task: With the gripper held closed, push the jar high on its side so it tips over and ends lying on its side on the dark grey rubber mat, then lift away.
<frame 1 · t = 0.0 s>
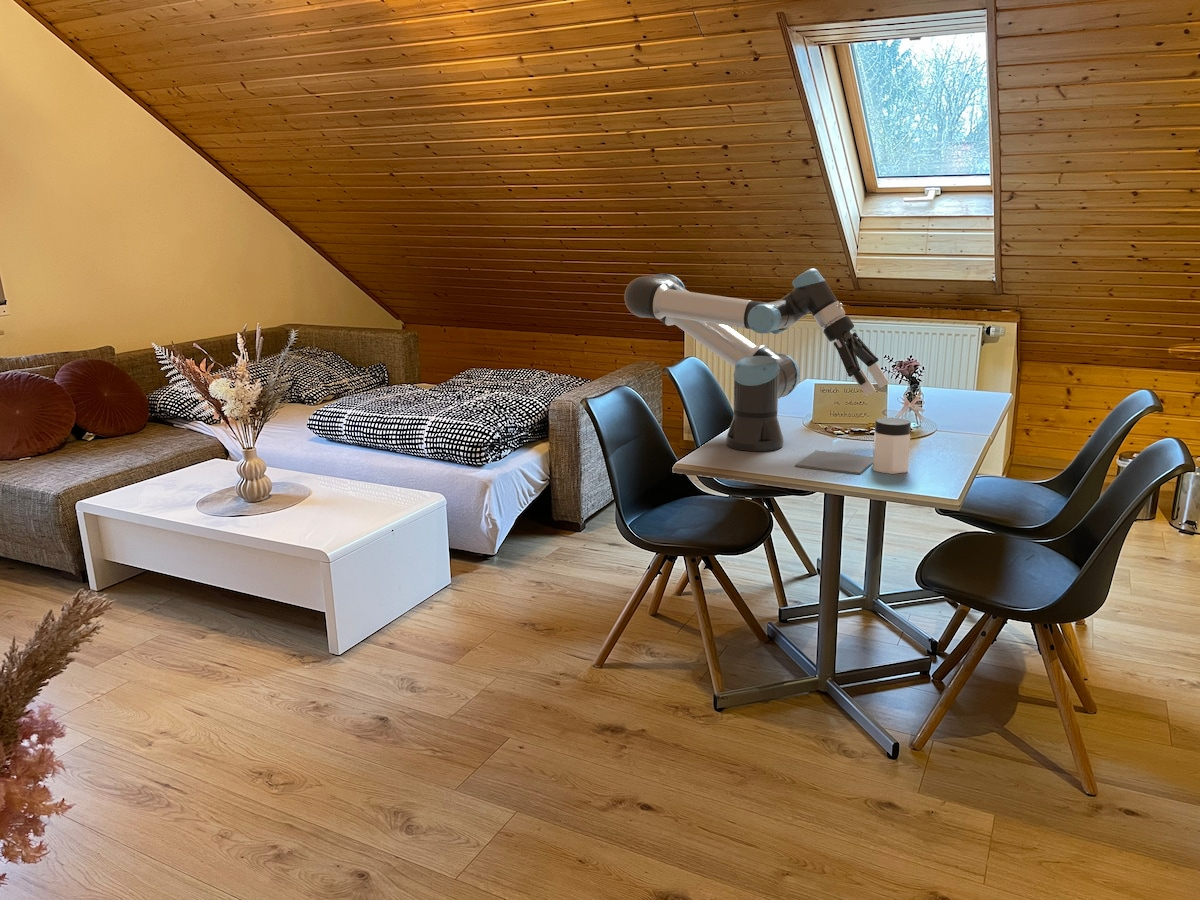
hand: (878, 389, 236), 15 cm above the table, tool tilted 35°, fingers open, 13 cm apart
jar: (889, 470, 218), on the table
mat: (836, 462, 224), on the table
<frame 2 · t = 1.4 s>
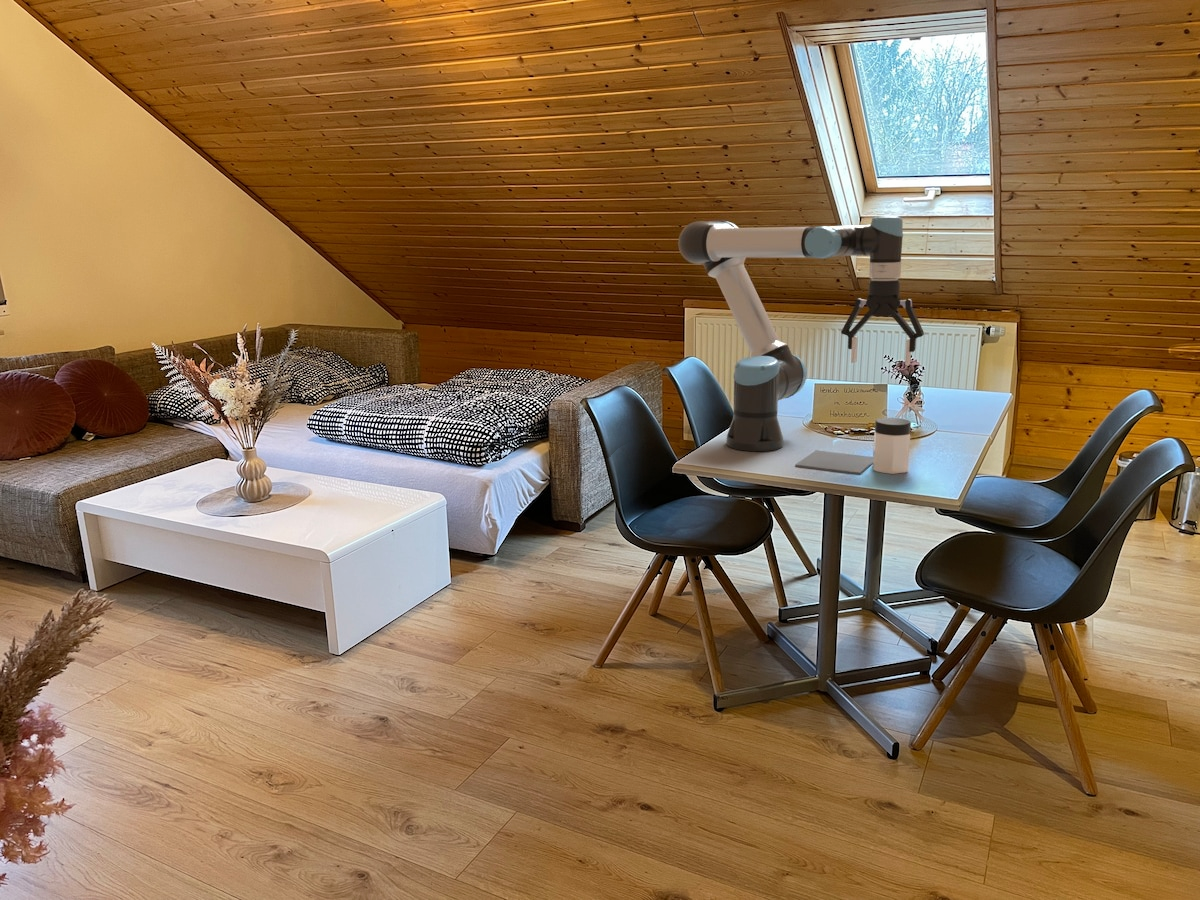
hand: (880, 363, 231), 23 cm above the table, tool pointing down, fingers open, 13 cm apart
nothing on the table moved.
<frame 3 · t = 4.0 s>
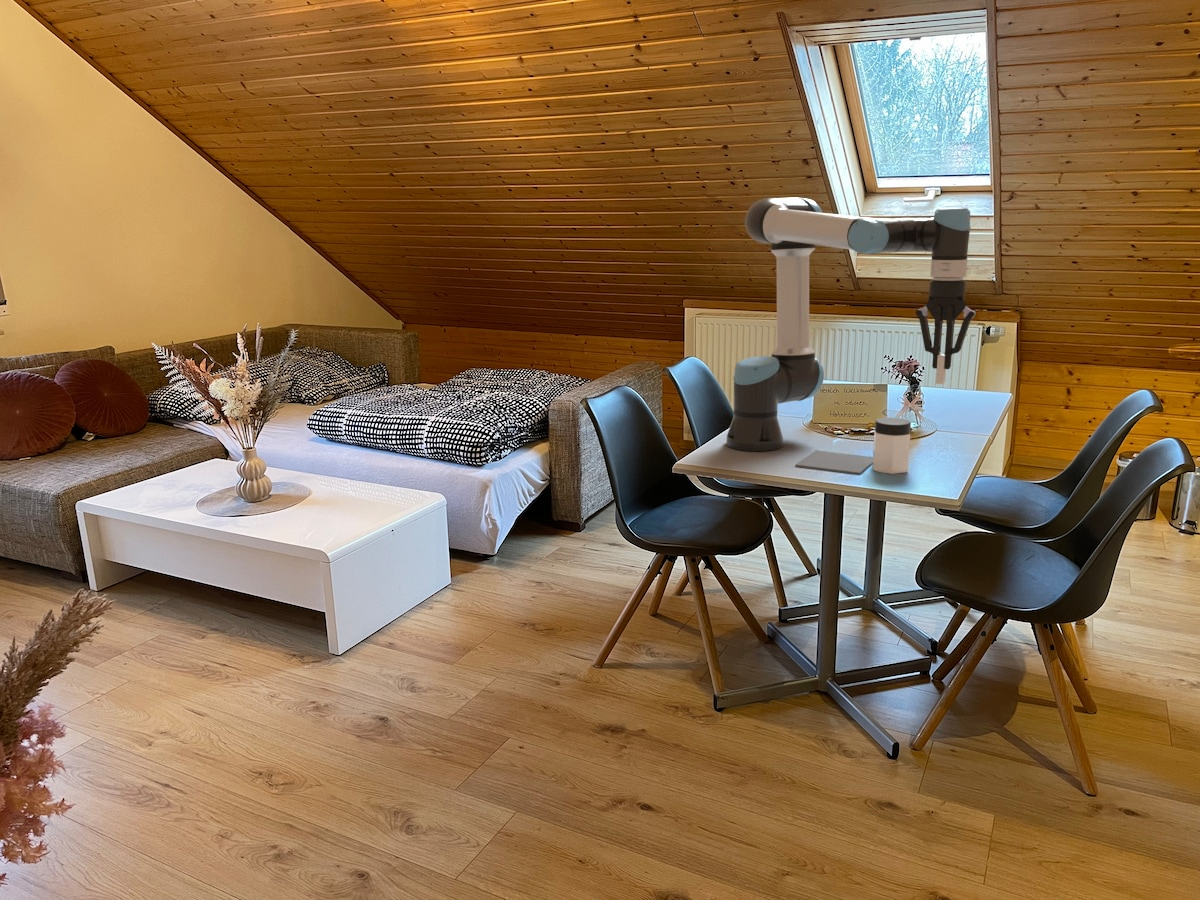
hand: (940, 382, 207), 22 cm above the table, tool pointing down, fingers closed
nothing on the table moved.
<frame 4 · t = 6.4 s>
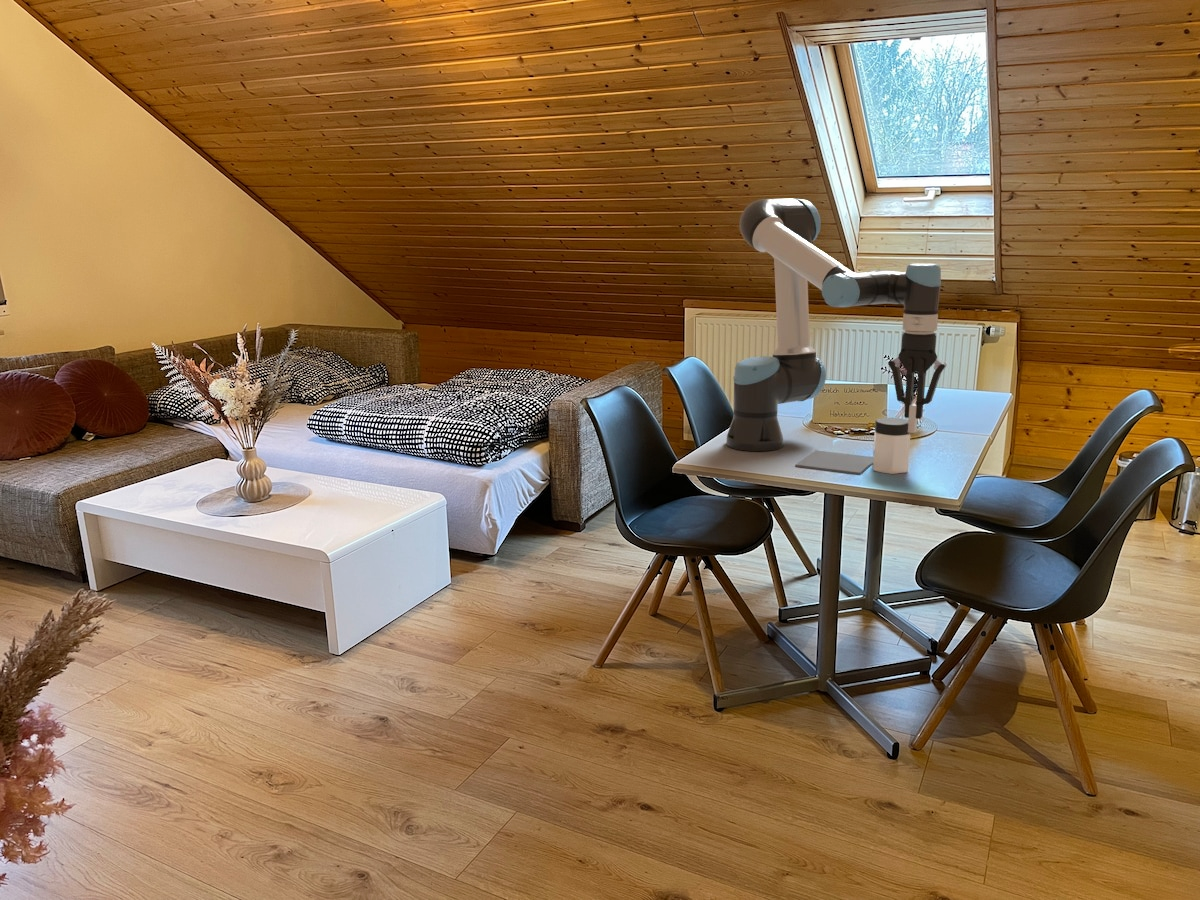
hand: (912, 431, 213), 10 cm above the table, tool pointing down, fingers closed
jar: (889, 470, 218), on the table, touching gripper
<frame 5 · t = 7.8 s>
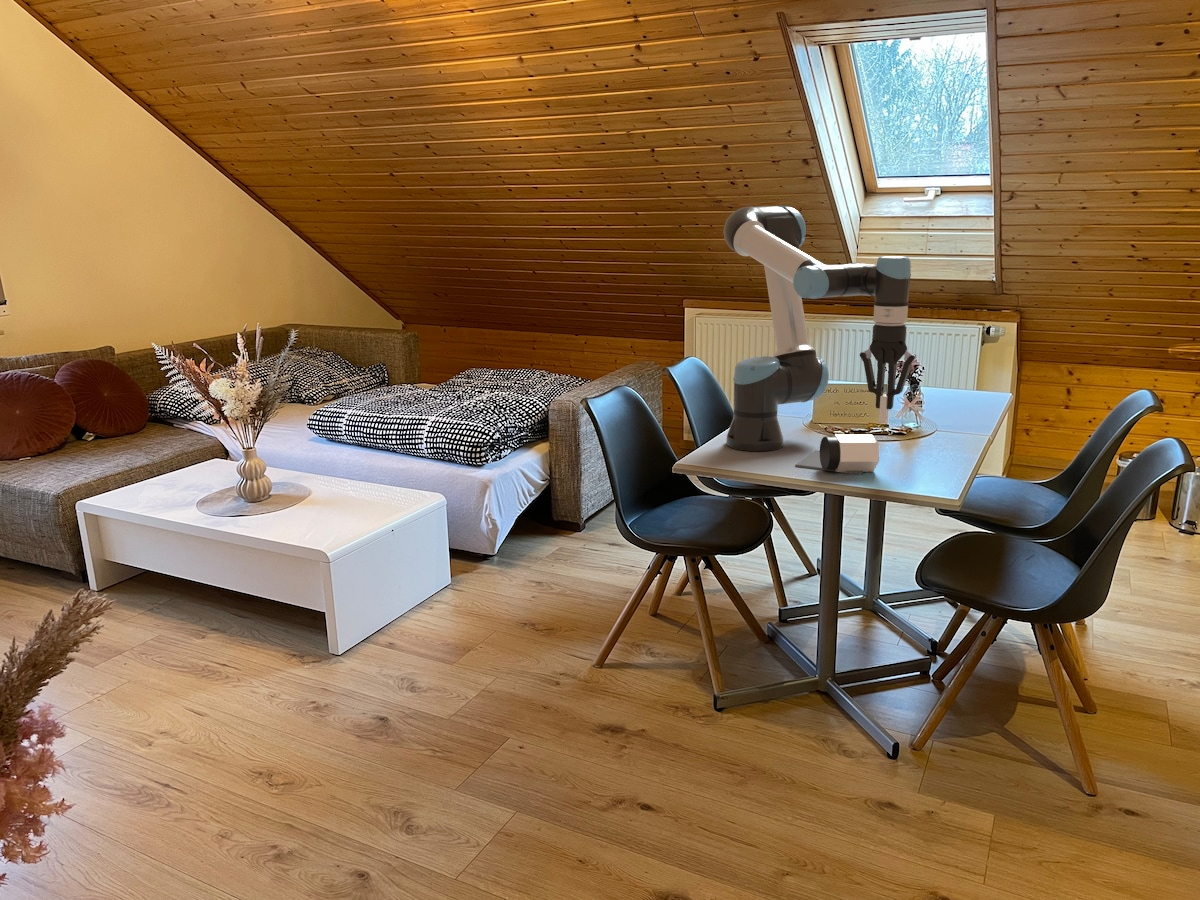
hand: (883, 421, 216), 12 cm above the table, tool pointing down, fingers closed
jar: (874, 452, 216), point 4 cm above the table
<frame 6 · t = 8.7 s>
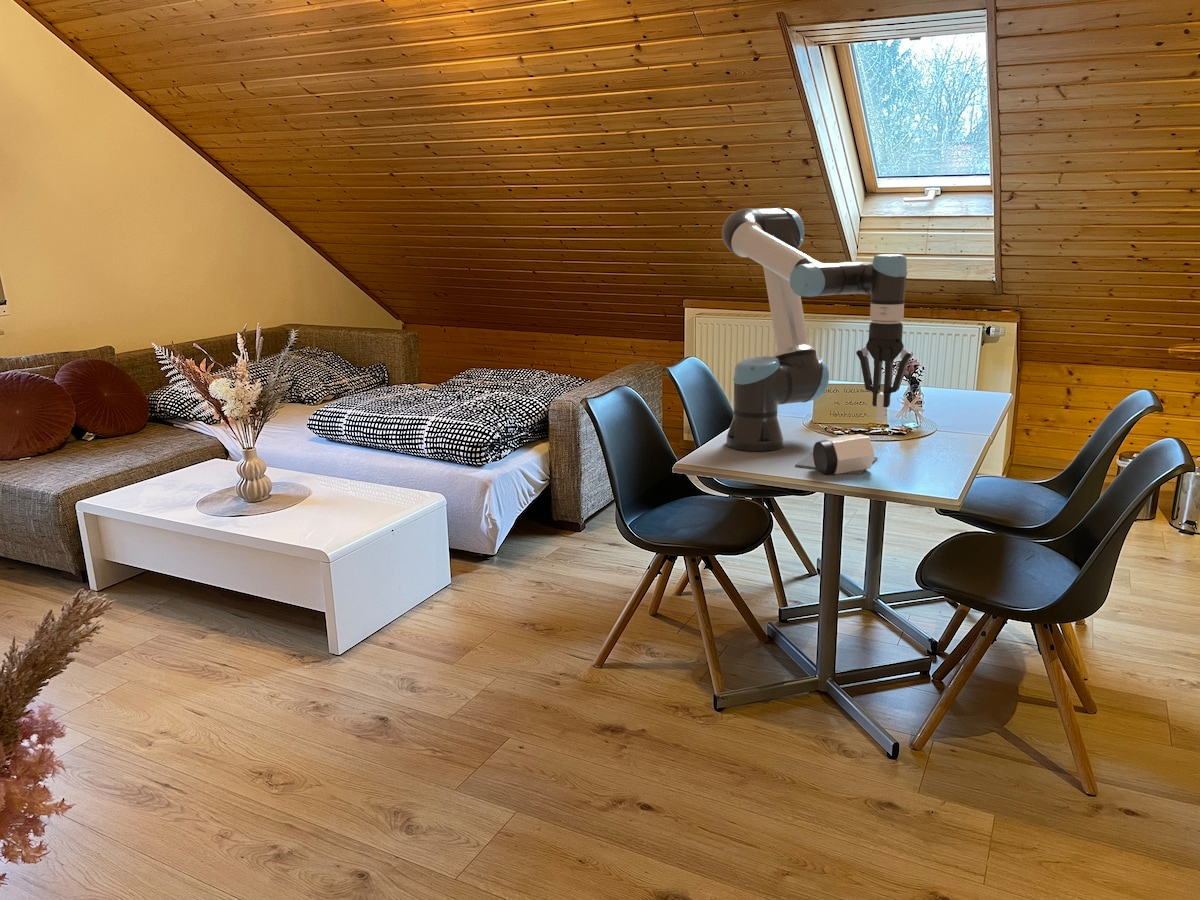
hand: (880, 419, 216), 12 cm above the table, tool pointing down, fingers closed
jar: (866, 450, 217), point 5 cm above the table, touching mat
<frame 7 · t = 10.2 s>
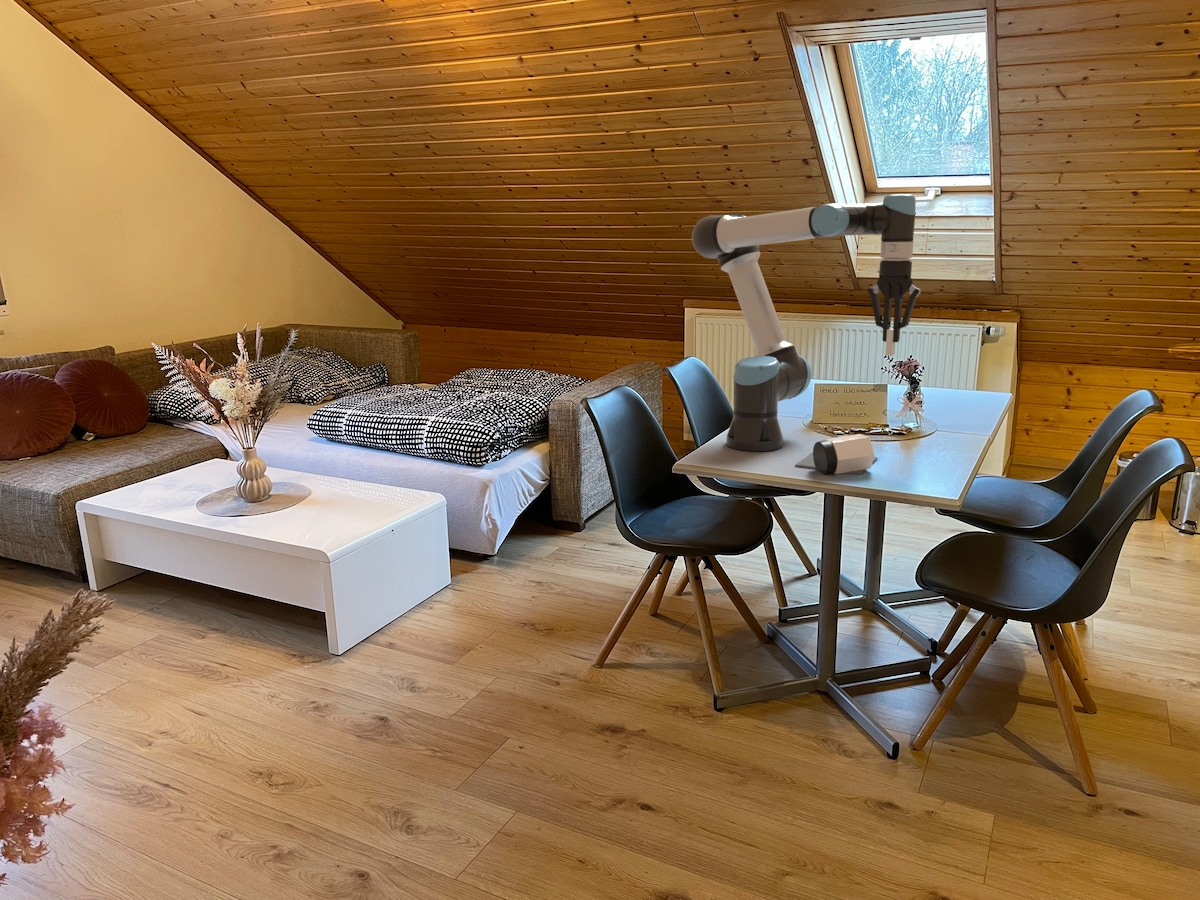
hand: (889, 354, 226), 26 cm above the table, tool pointing down, fingers closed
nothing on the table moved.
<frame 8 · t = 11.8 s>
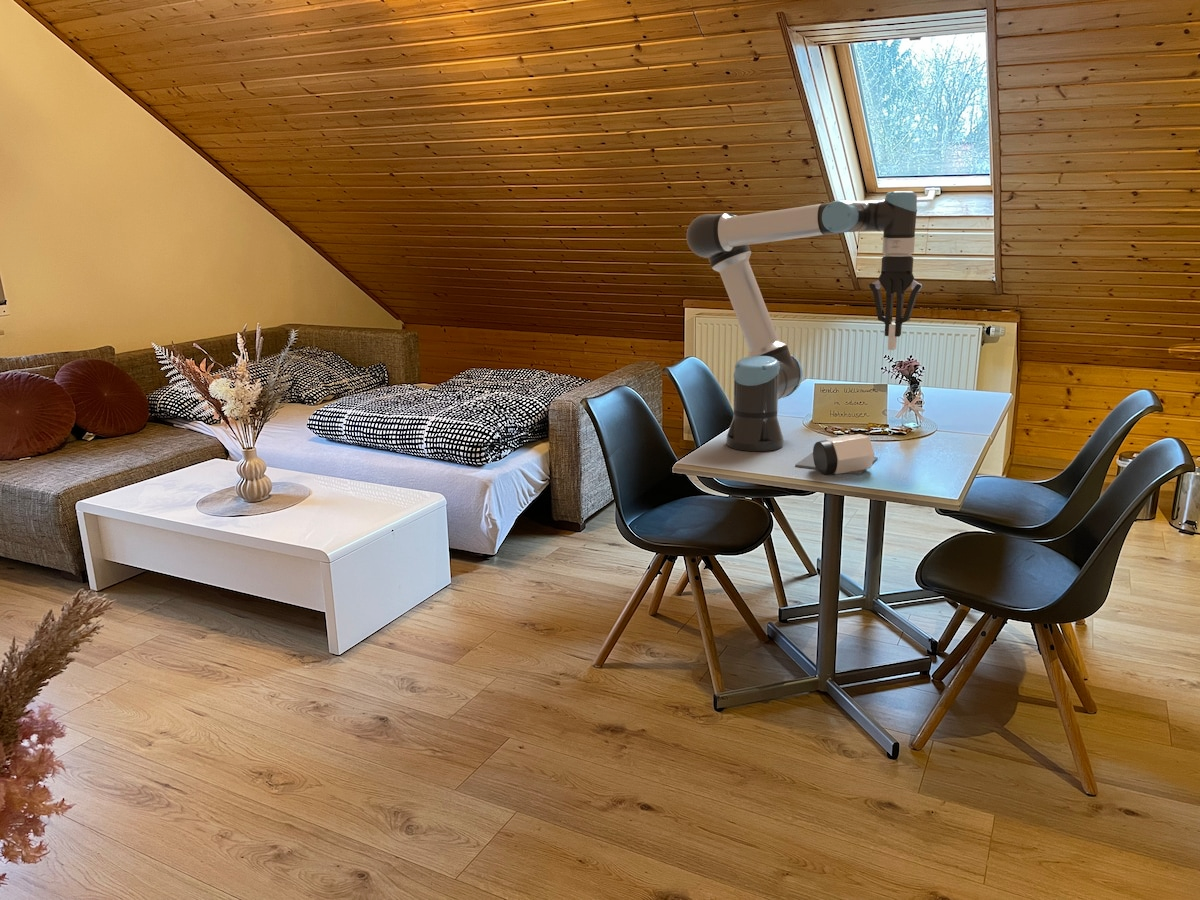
hand: (891, 349, 231), 26 cm above the table, tool pointing down, fingers closed
nothing on the table moved.
at the end: jar tilted 95°; jar touching mat, table; jar inside the target area (2.5 cm from its centre), point 4.6 cm above the table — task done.
